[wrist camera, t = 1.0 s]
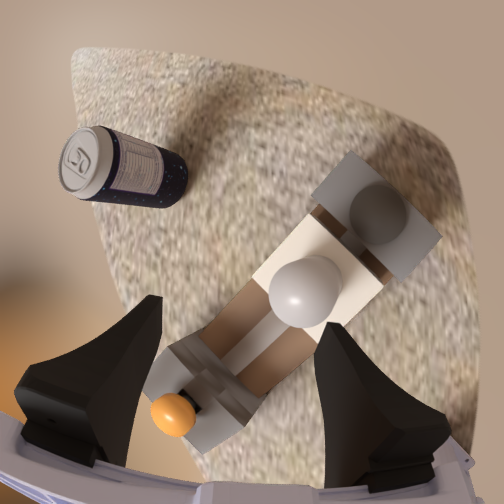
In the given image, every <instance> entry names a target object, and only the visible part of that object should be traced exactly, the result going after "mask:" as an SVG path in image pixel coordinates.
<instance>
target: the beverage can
mask: <svg viewBox="0 0 504 504" xmlns="http://www.w3.org/2000/svg"><path fill="white" fill-rule="evenodd" d="M58 175H59V180H60V183H61V186H62V187H63V189H64V190H65V191H66V192H68V193H71V194H73V195H74V196H75V197H77V198H79V199H80V200H86V201H96V202H106V203H115V204H125V205H134V206H143V207H152V208H167V207H170V206H172V205H173V204H175V203H176V202H177V201H178V200H179V199H180V198H181V196H182V195H183V193H184V191H185V189H186V186H187V181H188V171H187V166H186V164H185V162H184V160H183V159H182V158H181V157H180V156H179V155H178V154H176V153H174V152H171V151H169V150H166V149H164V148H161V147H158V146H156V145H153V144H151V143H148V142H145V141H143V140H140V139H137V138H134V137H132V136H129V135H126V134H123V133H121V132H118V131H115V130H112V129H109V128H107V127H104V126H94V127H82V128H79V129H77V130H76V131H75V132H73V133H72V134H71V135H70V137H69V138H68V139H67V141H66V143H65V144H64V146H63V149H62V151H61V154H60V159H59V164H58Z"/></svg>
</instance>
